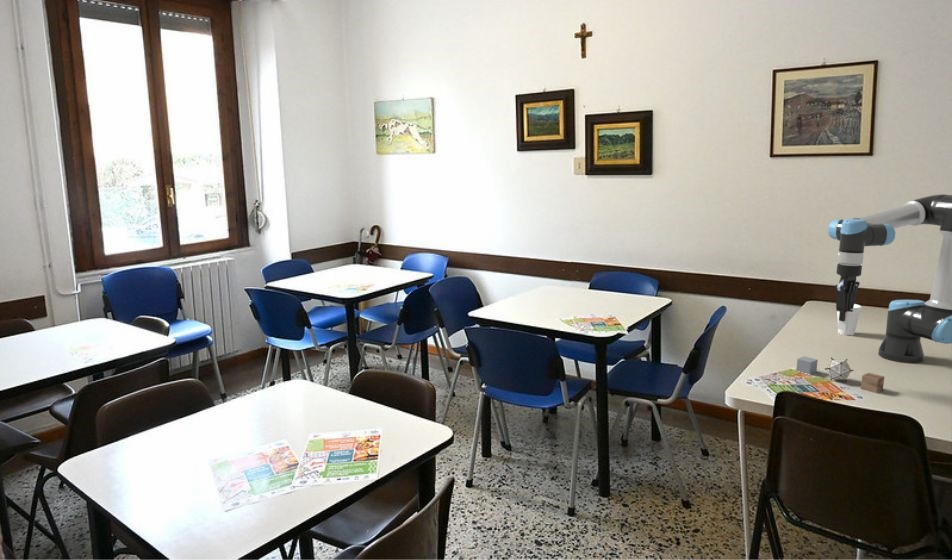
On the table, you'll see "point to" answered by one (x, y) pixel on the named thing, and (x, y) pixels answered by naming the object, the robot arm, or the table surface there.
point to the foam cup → (851, 320)
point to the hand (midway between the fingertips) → (842, 329)
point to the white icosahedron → (838, 369)
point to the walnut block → (872, 382)
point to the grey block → (807, 365)
